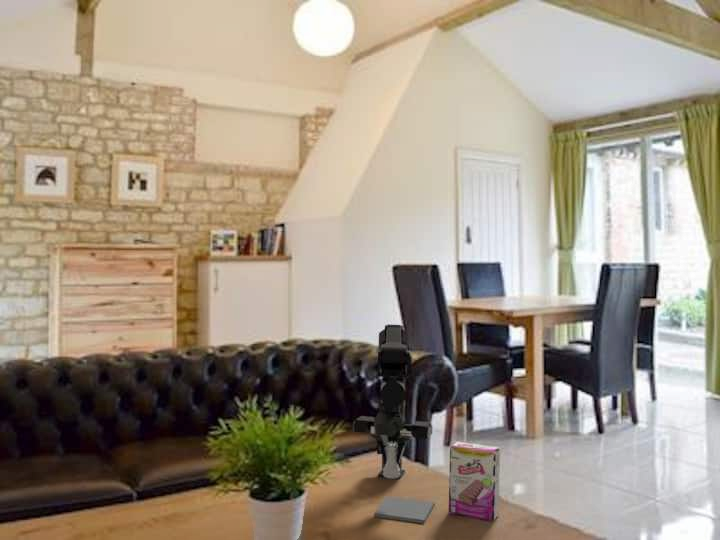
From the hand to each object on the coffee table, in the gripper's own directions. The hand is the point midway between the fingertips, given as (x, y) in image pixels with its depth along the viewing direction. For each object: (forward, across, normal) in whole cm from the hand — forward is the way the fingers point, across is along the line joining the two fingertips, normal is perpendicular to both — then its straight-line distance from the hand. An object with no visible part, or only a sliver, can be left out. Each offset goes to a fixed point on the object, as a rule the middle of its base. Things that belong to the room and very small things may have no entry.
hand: (391, 462), depth 153 cm
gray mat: (+11, +4, 0) cm, 12 cm away
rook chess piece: (+4, 0, 0) cm, 4 cm away
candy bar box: (+11, +20, +3) cm, 23 cm away
